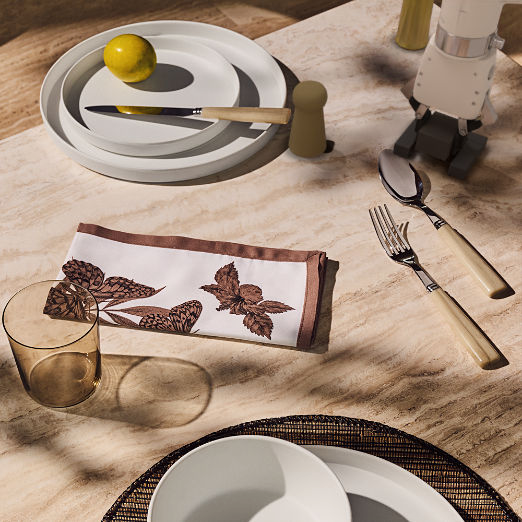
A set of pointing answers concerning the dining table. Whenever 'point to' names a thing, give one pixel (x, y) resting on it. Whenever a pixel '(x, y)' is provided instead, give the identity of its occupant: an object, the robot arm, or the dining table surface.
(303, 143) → the olive pawn
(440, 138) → the charcoal block
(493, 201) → the dining table surface
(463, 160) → the dark gray u-shaped block
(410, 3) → the vase
